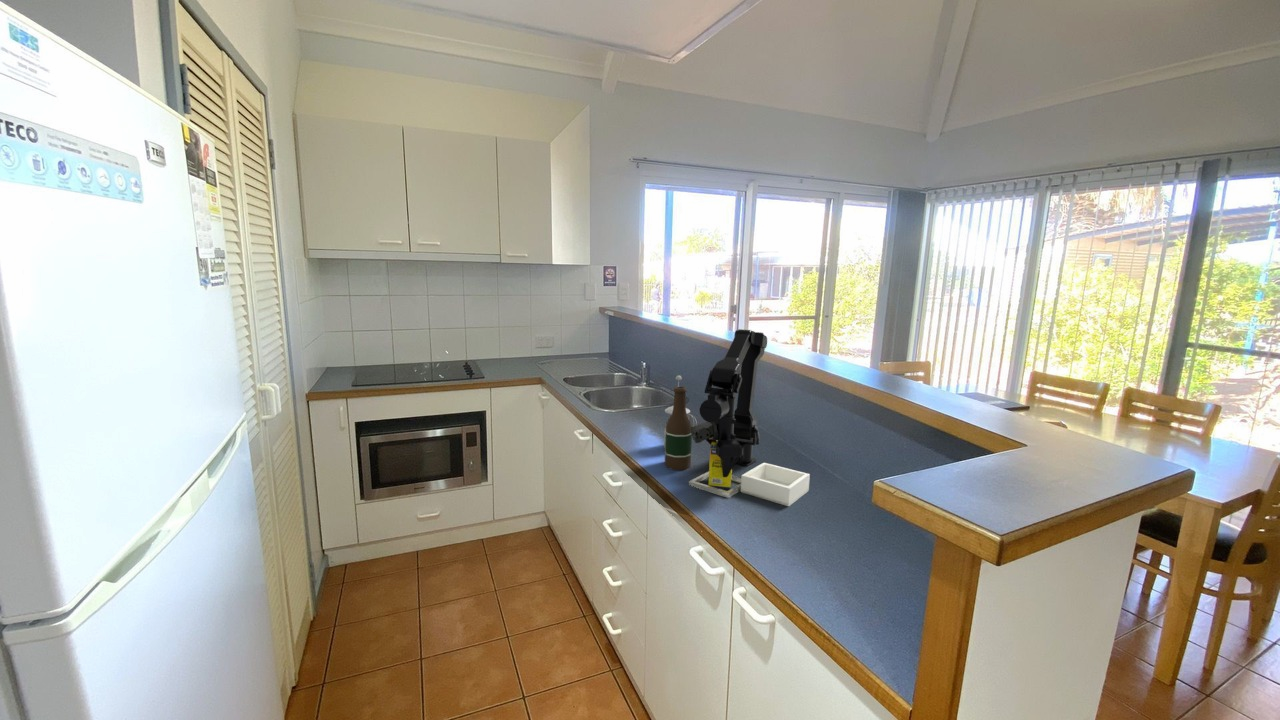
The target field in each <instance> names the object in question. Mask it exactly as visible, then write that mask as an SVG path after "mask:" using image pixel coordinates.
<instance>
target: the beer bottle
mask: <svg viewBox="0 0 1280 720" xmlns="http://www.w3.org/2000/svg"><path fill="white" fill-rule="evenodd" d="M673 392H674V394H673V405H672V406H673V411H672V415H671V414H670V416H669V418H668V419H667V421H666V422H667V424H666V423H665V426H666V435H665V434H664V440H665V448H664V465H665V467H666V468H667V469H671V470H672V471H673V470H674V471H686V470H688V469H690V468H691V466H692V465H691V463H692V462H691V461H692V440H693V437H692V434H691V431H690V428H691V427H693V426H692V424H691V421H690V418H689V416H688V414H687V415H686V408H687V404H686V403H687V401H686V399H687V398H686V393H687V388H686V387H684V386H679V387H678V386H676V387H674V388H673ZM688 418H689V419H688Z"/></svg>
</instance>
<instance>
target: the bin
mask: <svg viewBox="0 0 1280 720" xmlns="http://www.w3.org/2000/svg"><path fill="white" fill-rule="evenodd" d="M810 477H811V474H810V473H808V472H807V473H806V472H803V471H799V470H795V469H791V468H787V467H783V466H779V465H776V464H772V463H767V462H763V463H761V464H759V465H757V466H755V467H754V468H752V469H750V470H748V471H746V472H745V473H743V474H741V491H740V493H742V494H746V495H750V496H753V497H755V498H759V499H762V500H766V501H769V502H772V503H775V504H778V505H779V504H780V505H782V506H786V507H790V506H791V505H792V504H794V503H795V502H796V501H798V500H799V499H801V497H803V496H804V495H805V494H807V493H808V492H809V490H810V480H811V479H810Z"/></svg>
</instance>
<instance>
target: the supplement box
mask: <svg viewBox="0 0 1280 720" xmlns="http://www.w3.org/2000/svg"><path fill="white" fill-rule="evenodd" d="M708 466H709V468H708V471H709V477H708V484H707V485H708V486H712V487H715V488H718V489H721V490H725V491H729V490H730V489H732V488H731V487H732V486H731V484H732V480H731V475H733V474H732V473H733V468H732V469H731V471H730V473H729V475H728V477H723V474H722V465H721V458H720V457H719V456H718V455H717V454H716V442H712V443H711V445H710V447H709V465H708Z"/></svg>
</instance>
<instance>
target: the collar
mask: <svg viewBox="0 0 1280 720" xmlns="http://www.w3.org/2000/svg"><path fill="white" fill-rule="evenodd" d="M741 478H742V476H741V477H740V476H738V475H734V474H732V475H731V482H732V481H733V482H735V483H738V484H737V485H736V486H734V487H732V488H731V489H730V490H725V489H718V488H715V487H712V486H708V484H704V483H701V482H702V481H704V480H706V479H709V470H708V471H706V472H705V473H702V474H700V475H699V476H697V477H695V478H692V479H690V480H689V481H688V486H690V485H691V486H690V487H693V486H694V487H693V488H695V487H696V489H698V488H699V489H698V490H703V491H704V492H705V491H706V492H708V493H712V494H715V495H716V496H717V495H718V496H720V497H724V498H728V499H730V498H732V496H734V495H736V494H738V493H739V492H741ZM700 481H701V482H700Z"/></svg>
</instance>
